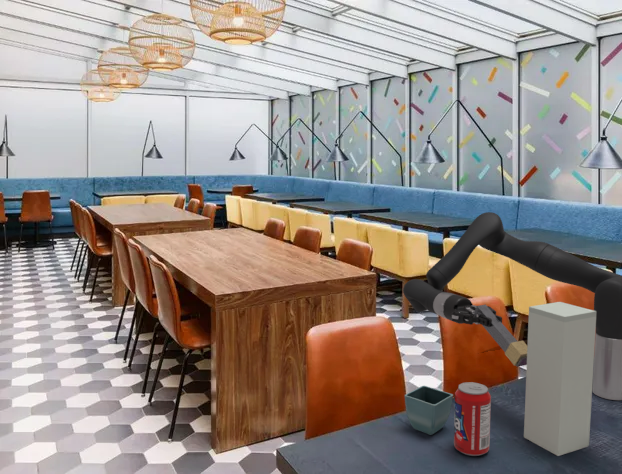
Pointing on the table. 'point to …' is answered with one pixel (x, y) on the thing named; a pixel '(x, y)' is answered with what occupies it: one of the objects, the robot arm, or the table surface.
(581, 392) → the sage pedestal
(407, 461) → the table surface
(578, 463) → the table surface
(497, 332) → the steel handle bar
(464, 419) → the soda can
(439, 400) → the flower pot
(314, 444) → the table surface
